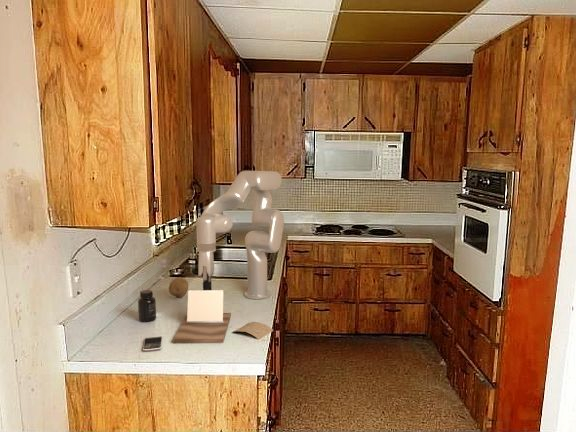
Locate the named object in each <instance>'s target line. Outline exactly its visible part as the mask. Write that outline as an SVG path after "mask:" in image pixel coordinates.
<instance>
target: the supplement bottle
mask: <svg viewBox="0 0 576 432" xmlns="http://www.w3.org/2000/svg"><path fill="white" fill-rule="evenodd" d="M153 295H154V294H153V290H152V289H145V290H141V291H140V292H139V297H140V298H138V300H137V308H138V309H137V310H138V311H137V313H138V321H139V322H140V323H150V322H151V323H152V322H154V321H155V320H156V319H157V308H156V307H157V306H156V305H157V302H156V297H154V296H153Z"/></svg>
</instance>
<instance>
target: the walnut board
mask: <svg viewBox="0 0 576 432" xmlns="http://www.w3.org/2000/svg"><path fill="white" fill-rule="evenodd" d="M231 318H232V313H231V312H223V323H187V315H185V318H184V320H183V321H182V324H181V325H180V327H179V328H178V330H177V332H176V333H175V336H174V337H173V340H172V343H173V344H224V342H225V338H226V334H227V331H228V328H229V325H230V321H231Z"/></svg>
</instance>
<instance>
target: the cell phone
mask: <svg viewBox="0 0 576 432" xmlns="http://www.w3.org/2000/svg"><path fill="white" fill-rule="evenodd" d="M162 344H163V336H150V337H145V338H144V342H143V346H142V351H143V353H151V352H159V351H161V350H162Z"/></svg>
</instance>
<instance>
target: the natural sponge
mask: <svg viewBox="0 0 576 432" xmlns="http://www.w3.org/2000/svg"><path fill="white" fill-rule="evenodd" d="M188 290H189V283H188V281H187V280H186V279H185V278H183V277H176V278H174V279H173V280H171V282H170V283H169V286H168V292H169V294H170V295H171V296H174V297H175V298H177V299H182V298H184V297H185V295H186V294H188Z"/></svg>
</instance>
